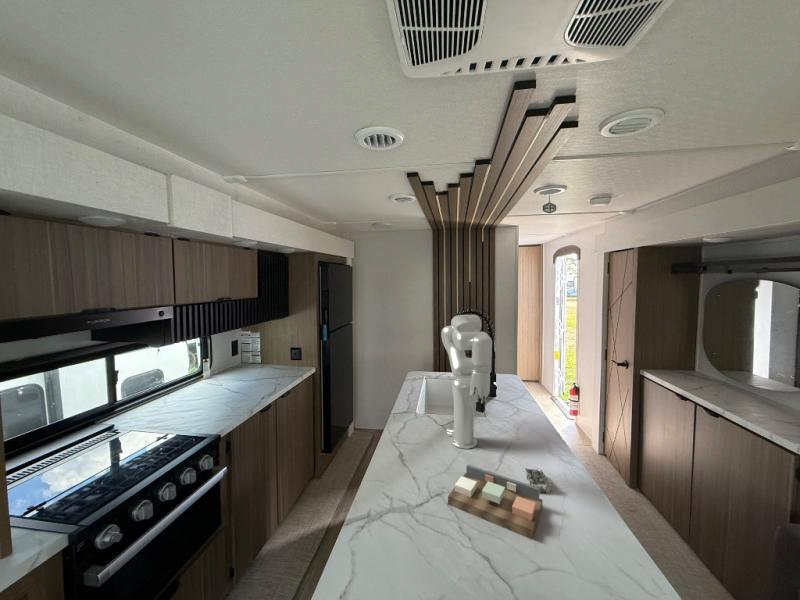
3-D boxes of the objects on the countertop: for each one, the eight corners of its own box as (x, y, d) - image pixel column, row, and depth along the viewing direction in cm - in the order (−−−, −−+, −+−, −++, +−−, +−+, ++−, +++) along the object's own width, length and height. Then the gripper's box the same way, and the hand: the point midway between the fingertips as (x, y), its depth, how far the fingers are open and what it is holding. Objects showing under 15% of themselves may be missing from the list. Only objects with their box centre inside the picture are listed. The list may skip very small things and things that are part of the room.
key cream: (454, 491, 116) (454, 484, 116) (461, 482, 121) (461, 476, 121) (470, 497, 112) (470, 490, 112) (476, 487, 117) (476, 481, 117)
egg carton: (553, 495, 118) (553, 484, 118) (531, 493, 119) (531, 482, 119) (543, 477, 129) (544, 467, 129) (524, 475, 130) (524, 465, 130)
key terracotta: (512, 513, 105) (512, 506, 105) (516, 502, 110) (516, 495, 110) (531, 521, 101) (531, 513, 101) (535, 509, 106) (535, 502, 106)
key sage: (481, 497, 110) (482, 490, 110) (487, 487, 115) (487, 481, 115) (499, 504, 107) (499, 497, 107) (504, 493, 112) (505, 487, 112)
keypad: (447, 504, 114) (447, 485, 113) (465, 480, 127) (465, 463, 126) (532, 539, 98) (532, 517, 98) (542, 508, 111) (542, 488, 111)
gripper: (479, 360, 137) (478, 402, 139) (464, 370, 125) (463, 416, 127) (497, 364, 132) (495, 406, 135) (483, 374, 120) (482, 421, 122)
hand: (480, 411), depth 131 cm, fingers closed
